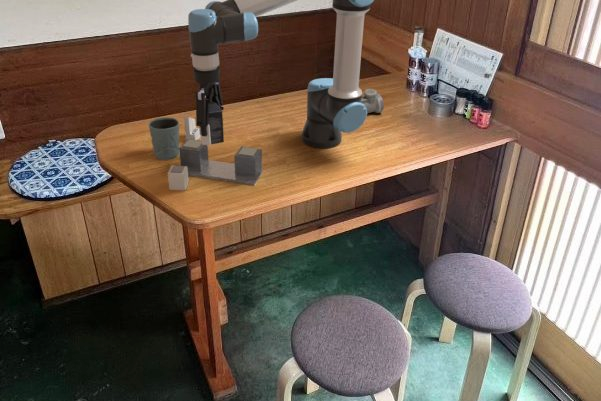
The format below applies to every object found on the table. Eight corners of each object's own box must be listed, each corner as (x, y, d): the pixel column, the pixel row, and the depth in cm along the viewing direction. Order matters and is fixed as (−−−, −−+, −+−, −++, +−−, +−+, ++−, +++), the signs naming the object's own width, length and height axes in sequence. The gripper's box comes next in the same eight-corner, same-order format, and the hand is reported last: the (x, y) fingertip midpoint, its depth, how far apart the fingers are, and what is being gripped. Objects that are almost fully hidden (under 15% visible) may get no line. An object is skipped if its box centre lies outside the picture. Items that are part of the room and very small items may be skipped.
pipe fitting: (375, 106, 236) (376, 84, 229) (384, 115, 230) (385, 93, 223) (349, 113, 233) (349, 91, 226) (358, 122, 227) (358, 100, 220)
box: (199, 135, 173) (196, 102, 167) (217, 132, 175) (214, 100, 169) (207, 146, 167) (203, 112, 161) (224, 142, 169) (222, 109, 163)
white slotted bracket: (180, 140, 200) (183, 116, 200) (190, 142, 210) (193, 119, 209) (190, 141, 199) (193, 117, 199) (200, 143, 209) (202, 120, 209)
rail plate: (263, 170, 188) (263, 145, 183) (254, 185, 180) (253, 159, 175) (191, 160, 193) (189, 135, 188) (179, 174, 185) (176, 148, 179)
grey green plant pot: (146, 157, 194) (142, 126, 187) (162, 145, 202) (159, 114, 195) (172, 163, 191) (168, 131, 184) (187, 150, 199) (184, 119, 192)
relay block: (188, 182, 180) (187, 165, 177) (185, 190, 176) (183, 173, 173) (173, 181, 180) (171, 164, 177) (169, 189, 176) (167, 172, 173)
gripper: (207, 53, 168) (212, 121, 181) (178, 78, 150) (187, 152, 163) (230, 55, 167) (234, 123, 179) (204, 81, 149) (211, 155, 161)
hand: (212, 137), depth 171 cm, fingers closed on box, 9 cm apart
